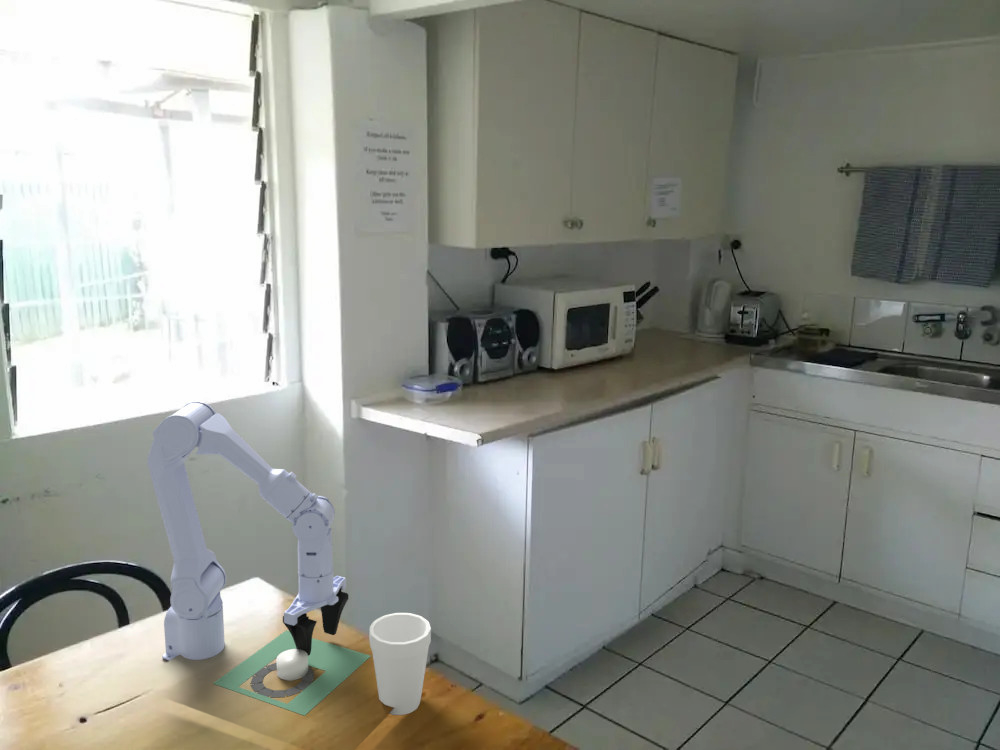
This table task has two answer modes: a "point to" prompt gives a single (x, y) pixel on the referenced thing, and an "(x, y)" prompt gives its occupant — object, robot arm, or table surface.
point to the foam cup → (400, 659)
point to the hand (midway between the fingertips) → (317, 643)
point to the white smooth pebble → (292, 664)
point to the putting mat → (322, 657)
